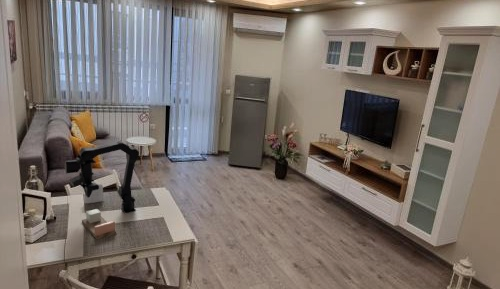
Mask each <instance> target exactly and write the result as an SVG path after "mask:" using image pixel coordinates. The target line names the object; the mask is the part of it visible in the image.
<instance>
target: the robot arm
mask: <svg viewBox="0 0 500 289" xmlns="http://www.w3.org/2000/svg"><path fill="white" fill-rule="evenodd" d="M119 150H120V151H121V152H123V153H125V158H126V164H125V171H124V174H123V175H124V176H123V181H122V184H121V185H119V186H118V190H117V193H118V196H119V197H120V199H121V200H122V201H121V210H122V212H124V213H126V214H127V213H131V212H134V211H136V210H137V209H136V208H135V202H136V198H135V197H134V196H133V194H132V189H131V188H132V186H131V184H132V179H133V173H134V169H135V164H136V162H137V161H138V159H139V156H140V151H139V150H138V149H137V148H136V147H135V146H132V145H131V146H129V145H128V144H126V143H124V142H122V141H117V142H113V143H109V144H103V145H100V146H95V147H94V146H93V147H91V146H88V147H82V148H80V150H79V153H78V155H77V156H76V157H75V159H73V160H65V162H64V171H65V174H73V173H74V174H75V173H78V172H79V173H78V175H77V176H74V177H72V178H70V179H69V182H70V185H71V186H73V187H72V188H76V187H79V186H80V187H82V190H83V191H84V194H86V196H87V197H88V198H89V197H90V195H91V193H92V191H93V190H98V189H99V185H97V184H96V183H97V182H95V179H94V178H93V176H94V175H95V174H94V171H93V164H96V160H95V158H96V157H99V156H100V155H101V156H102V155H104V154H109V153H111V152H116V151H119Z"/></svg>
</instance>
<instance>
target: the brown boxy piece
mask: <svg viewBox="0 0 500 289" xmlns="http://www.w3.org/2000/svg"><path fill="white" fill-rule="evenodd" d="M81 223H82V224H83V226H84V227H85V226H86V227H87V228H86V227H85V228H86V229H87V230H88V231H89V233H91V235H93V237H94V238H95V239H96V240H102V239H106V238H107V237H111V236H114V235H117V230H116V222H115V220H111V221H107V220H105V218H103V217H102V216H101V220H100V221H97V222H93V223H89V222H88V221H87V220H86V218H84V219H82V220H81Z"/></svg>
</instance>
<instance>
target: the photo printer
mask: <svg viewBox="0 0 500 289" xmlns="http://www.w3.org/2000/svg"><path fill="white" fill-rule="evenodd" d="M95 183H96V184H97V185H99V189H98V190H93V191H92V193H91V195H90V197H89V198H88V197H87V196H86V194H85V193H84V194H85V196H84V198H85V204H93V203H100V202H101V203H102V202H103V201H104V187H103V184H102V183H100V182H95Z"/></svg>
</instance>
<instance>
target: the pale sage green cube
mask: <svg viewBox="0 0 500 289" xmlns="http://www.w3.org/2000/svg"><path fill="white" fill-rule="evenodd" d="M85 216H86V218H85V219H86V220H87V221H88V222H89V223H93V222H97V221H100V220H101V217H102V212H101V211H100V210H99V209H98V208H95V209H92V210H91V209H90V210H86V212H85Z"/></svg>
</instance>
